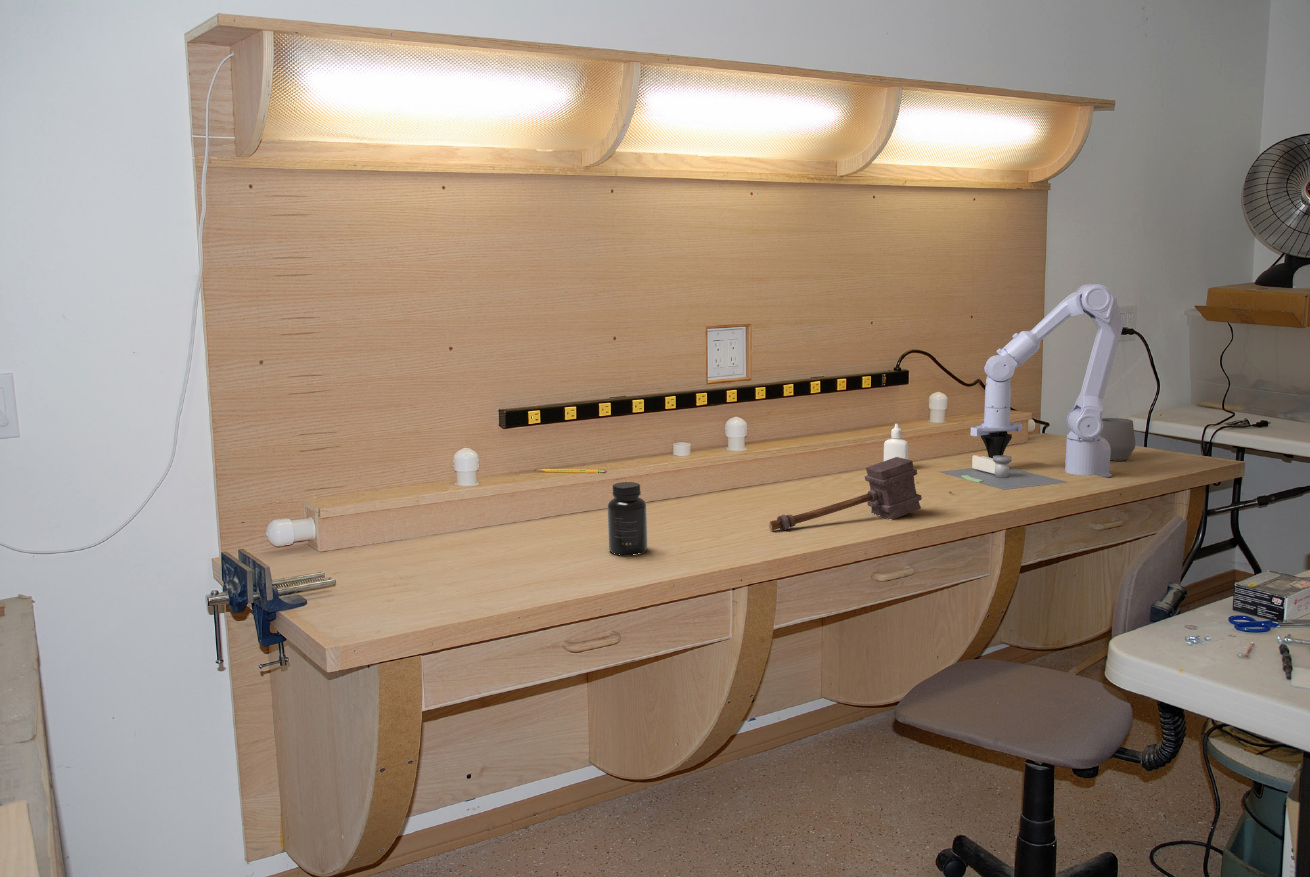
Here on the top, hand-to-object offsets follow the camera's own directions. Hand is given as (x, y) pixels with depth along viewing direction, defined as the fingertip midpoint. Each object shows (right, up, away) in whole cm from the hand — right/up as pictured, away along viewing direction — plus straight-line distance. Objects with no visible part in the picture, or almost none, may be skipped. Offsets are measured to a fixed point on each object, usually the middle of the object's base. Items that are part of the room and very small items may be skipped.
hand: (995, 463), depth 234 cm
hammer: (-44, -11, -42) cm, 61 cm away
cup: (+35, +1, +16) cm, 39 cm away
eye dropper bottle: (-23, -3, +3) cm, 23 cm away
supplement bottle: (-85, -14, -60) cm, 105 cm away
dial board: (-1, -4, -7) cm, 8 cm away
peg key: (-2, -2, -4) cm, 5 cm away
